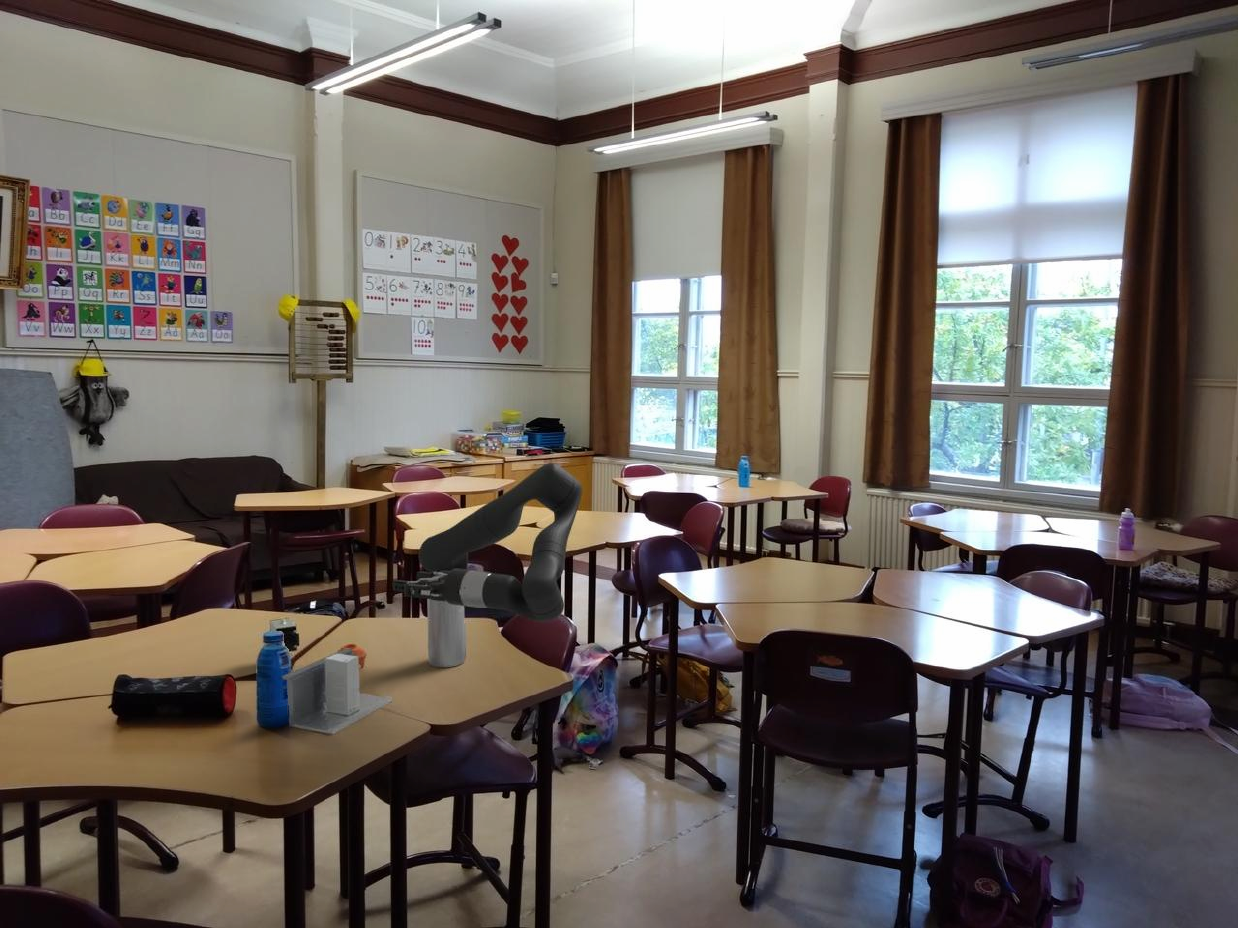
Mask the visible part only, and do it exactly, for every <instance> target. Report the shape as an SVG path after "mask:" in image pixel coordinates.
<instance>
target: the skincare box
mask: <svg viewBox="0 0 1238 928" xmlns="http://www.w3.org/2000/svg"><path fill="white" fill-rule="evenodd" d="M331 655H332V654H331ZM329 656H330V655H329ZM326 657H327V656H326ZM324 658H325V657H324ZM359 665H360V664H359V662H358V656H350V655H344V654H335V655H332V656H330V657H327V658H325V684H326V711H327V712H331V713H337V714H342V715H350V714H352V713H353V712H355V711H357V710H359V709H360V695H359V693H360V672H359V671H360V667H359Z"/></svg>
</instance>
